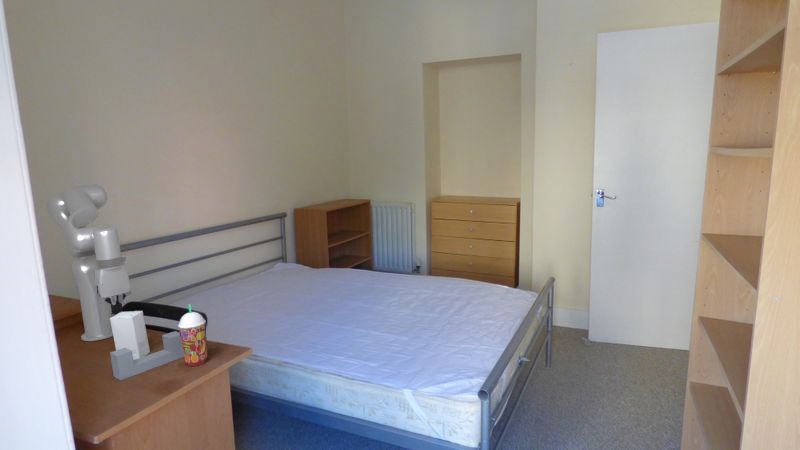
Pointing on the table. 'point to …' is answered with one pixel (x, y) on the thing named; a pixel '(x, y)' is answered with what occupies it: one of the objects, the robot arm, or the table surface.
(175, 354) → the u rest
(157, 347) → the table surface
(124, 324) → the skincare box
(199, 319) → the smoothie
